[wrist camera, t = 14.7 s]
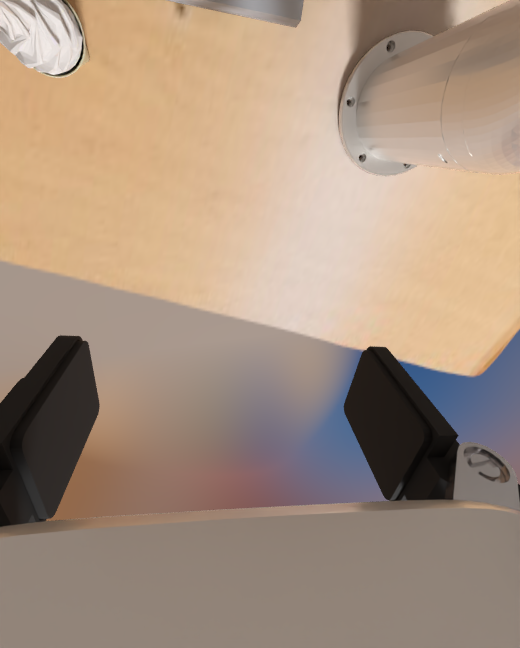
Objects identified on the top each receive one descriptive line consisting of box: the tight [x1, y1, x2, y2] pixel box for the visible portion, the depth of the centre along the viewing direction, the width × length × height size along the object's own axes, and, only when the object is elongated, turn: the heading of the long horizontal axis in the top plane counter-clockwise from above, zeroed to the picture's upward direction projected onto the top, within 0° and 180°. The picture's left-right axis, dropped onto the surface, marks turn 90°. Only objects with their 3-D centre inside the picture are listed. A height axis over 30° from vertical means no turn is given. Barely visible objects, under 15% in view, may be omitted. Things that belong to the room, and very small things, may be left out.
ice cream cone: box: [0, 0, 90, 78], centre depth 22 cm, size 5×5×15 cm
